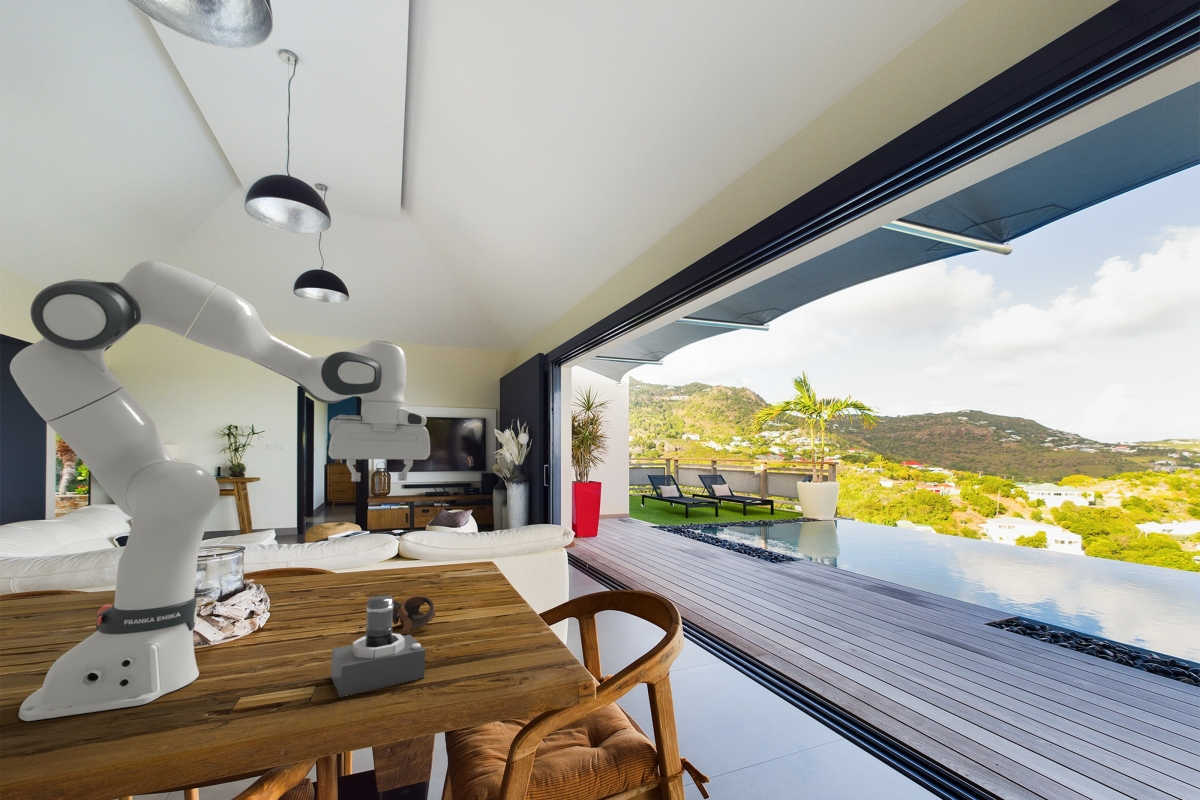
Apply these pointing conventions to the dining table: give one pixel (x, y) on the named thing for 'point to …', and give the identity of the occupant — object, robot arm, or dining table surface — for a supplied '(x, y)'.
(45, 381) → the robot arm
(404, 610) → the pottery mug
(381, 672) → the camera body
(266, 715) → the dining table surface
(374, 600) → the lens
